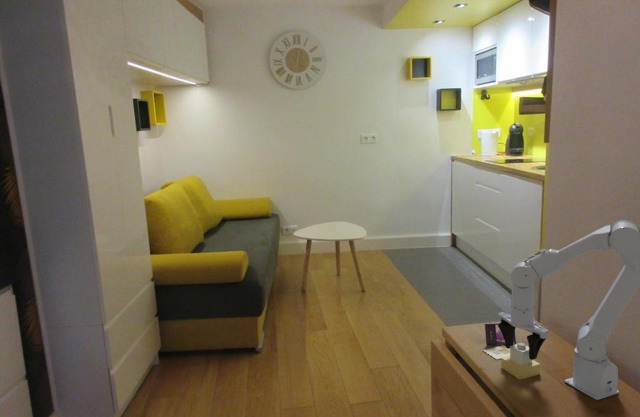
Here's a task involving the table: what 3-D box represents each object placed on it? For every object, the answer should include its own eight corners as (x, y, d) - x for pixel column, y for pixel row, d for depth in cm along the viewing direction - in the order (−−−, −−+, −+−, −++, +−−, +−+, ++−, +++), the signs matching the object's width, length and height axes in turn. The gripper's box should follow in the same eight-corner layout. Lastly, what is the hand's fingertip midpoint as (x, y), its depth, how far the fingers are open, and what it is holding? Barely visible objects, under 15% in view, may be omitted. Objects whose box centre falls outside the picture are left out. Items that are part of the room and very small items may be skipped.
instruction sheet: (518, 354, 135) (518, 353, 135) (496, 359, 132) (496, 358, 132) (503, 345, 140) (503, 344, 140) (482, 351, 138) (482, 350, 138)
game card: (485, 324, 141) (515, 323, 141) (481, 322, 146) (509, 322, 146) (487, 346, 140) (517, 345, 140) (482, 344, 145) (511, 343, 145)
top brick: (532, 361, 124) (532, 345, 124) (522, 365, 123) (522, 349, 122) (519, 355, 128) (520, 340, 127) (510, 359, 126) (510, 343, 125)
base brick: (539, 374, 124) (540, 364, 123) (520, 379, 121) (520, 369, 121) (520, 362, 130) (520, 352, 130) (501, 367, 128) (501, 357, 127)
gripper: (556, 311, 118) (554, 359, 120) (510, 295, 131) (508, 339, 133) (539, 317, 115) (537, 367, 117) (493, 300, 128) (492, 345, 130)
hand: (520, 352), depth 125 cm, fingers open, 7 cm apart
